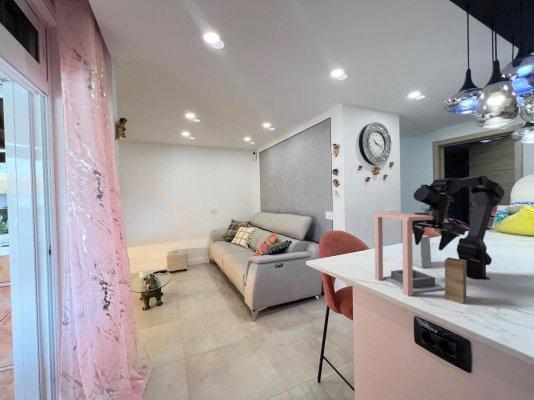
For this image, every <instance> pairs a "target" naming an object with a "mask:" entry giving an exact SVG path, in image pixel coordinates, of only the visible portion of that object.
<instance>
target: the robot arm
mask: <svg viewBox="0 0 534 400" xmlns="http://www.w3.org/2000/svg"><path fill="white" fill-rule="evenodd" d="M478 186H479V187H478ZM469 187H470V192H471V194H473V201H474V202H475V205H476V207H475V210H474V213H473V216H472V219H471V223H470V225H469V229H468V232H467V235H466V227H464V226H462V225H460V224H458V223H453V222H445V221H446V217H450V216H449V215H450V213H448V210H449V206H450V202H455V199H454V198H453V197H452V194H454V193H456V192H458V191H460V190H461V189H463V188H465V189H466V188H469ZM504 196H505V189H504V188H503V187H502V186H501V185H500V184H499V183H498V182H495V181H493V180H491V179H489V178H488V177H487V176H486V175H472V176H469V177H464V178H463V177H461V178H458V177H457V178H456V177H455V178H454V177H450V178H448V177H447V178H437V179H434V180H433V181H432V183H431V184H430V185H429V184H421V185H420V187H419V188H417V189H416V190H415V192H413V199H414V200H415V201H417V202H419V203H422V204H424V205H426V206H429V207H428V208H426V209H425V210H424V211H423V212H422V211H421V212H420V211H419V212H414V214H415V215H426V216H433V220H413V221H412V233H413V234H414V238H415V244H416V245H418V244H419V243H420V241H421V239H422V236H423V235H424V234H425V232H426V230H425V229H426V228H428V229H436V230H437V229H438V230H440V234H441V237H440V241H439V244H438V251H443V250H444V249H445V248H446V247H447V246H448V245H449V244H450V243H451V242H452V241H453V240H455V239H457V237H458V238H459V237H460V238H459V240H458V242H457V244H456V252H457V256H458V259H461V260H466V277H468V278H471V279H473V280H475V279H476V280H479V279H480V280H489V279H490V277H489V276H487V266H489V265H491V264H492V260H493V258H492V257H491V256H490V255H489V253H488V252H487V246H486V243H485V241H484V239H485V235H486V232H487V230H488V225H489V222H490V219H491V215H492V213H493V209H494V208H495V207H497V205H499V204H500V203H501V201H502V200H503V197H504ZM465 235H466V236H465ZM461 236H465V237H464V238H463V237H461Z"/></svg>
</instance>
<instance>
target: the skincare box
mask: <svg viewBox="0 0 534 400" xmlns="http://www.w3.org/2000/svg"><path fill="white" fill-rule="evenodd" d="M430 240H431V239H430V235H424V234H423V236H422V239H421V241H420V243H419V244H418V245H416V244H415V238H414V233H412V257H413V267H414V266H415V267H418V268H421V269H424V268H432V257H431V255H432V254H431V241H430Z"/></svg>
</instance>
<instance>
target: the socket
mask: <svg viewBox="0 0 534 400" xmlns="http://www.w3.org/2000/svg"><path fill="white" fill-rule="evenodd" d="M383 280H385V281H386V282H389V283H391V284H393V285H395V286H397V287H398V288H400V289H402V290H403V269H398V270H397V269H396V270H391V271H390V276H383ZM437 291H445V286H444V285H440V284H438V283H436V277H434V276H431V275H430V274H426V273H424V272H421V271H419V270H416V269H415V268H414V269H413V295H414V294H422V293H431V292H437Z"/></svg>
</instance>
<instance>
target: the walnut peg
mask: <svg viewBox="0 0 534 400" xmlns="http://www.w3.org/2000/svg"><path fill="white" fill-rule="evenodd" d="M444 287H445V290H444V300H447V301H451V302H454V303H458V304H461V305H464V304H465V302H466V301H467V276H466V260H462V259H459V258H456V257H455V258H454V257H446V258H445V259H444Z"/></svg>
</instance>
